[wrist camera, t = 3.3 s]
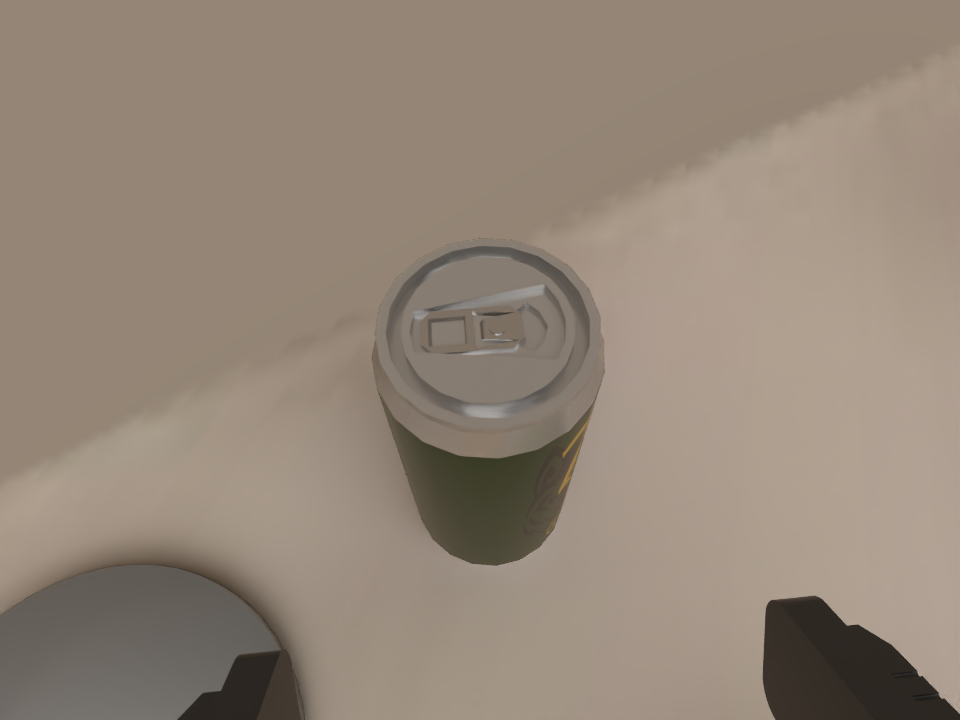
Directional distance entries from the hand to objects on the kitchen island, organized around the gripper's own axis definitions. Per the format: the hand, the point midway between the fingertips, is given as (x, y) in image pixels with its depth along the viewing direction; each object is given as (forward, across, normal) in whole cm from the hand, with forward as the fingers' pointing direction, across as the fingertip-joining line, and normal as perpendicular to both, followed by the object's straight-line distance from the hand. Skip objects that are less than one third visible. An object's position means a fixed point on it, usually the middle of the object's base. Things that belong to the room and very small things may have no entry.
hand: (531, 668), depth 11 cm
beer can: (+13, 0, +4) cm, 14 cm away
